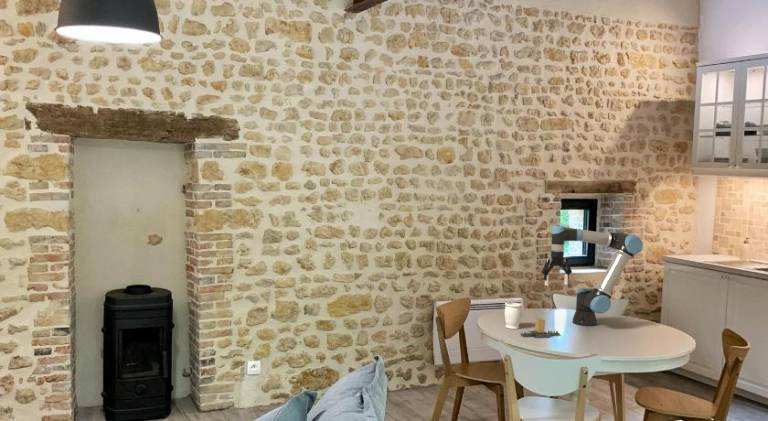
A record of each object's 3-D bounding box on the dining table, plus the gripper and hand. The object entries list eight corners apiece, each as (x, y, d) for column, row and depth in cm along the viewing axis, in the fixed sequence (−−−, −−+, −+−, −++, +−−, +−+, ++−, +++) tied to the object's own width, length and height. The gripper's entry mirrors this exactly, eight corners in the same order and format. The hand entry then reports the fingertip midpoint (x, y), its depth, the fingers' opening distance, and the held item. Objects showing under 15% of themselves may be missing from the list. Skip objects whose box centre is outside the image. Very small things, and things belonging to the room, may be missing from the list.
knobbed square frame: (554, 333, 404) (554, 329, 404) (562, 337, 395) (562, 333, 395) (518, 334, 397) (518, 330, 397) (525, 338, 389) (525, 334, 388)
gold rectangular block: (540, 335, 399) (541, 318, 398) (544, 336, 395) (545, 320, 394) (534, 335, 398) (535, 318, 397) (537, 336, 394) (538, 320, 393)
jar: (520, 330, 408) (522, 306, 407) (503, 328, 410) (504, 304, 409) (520, 326, 419) (522, 302, 418) (504, 324, 421) (505, 301, 420)
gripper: (571, 249, 419) (570, 283, 420) (536, 250, 411) (535, 284, 413) (578, 251, 412) (577, 285, 413) (542, 252, 404) (541, 287, 406)
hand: (556, 285), depth 413 cm, fingers open, 13 cm apart
